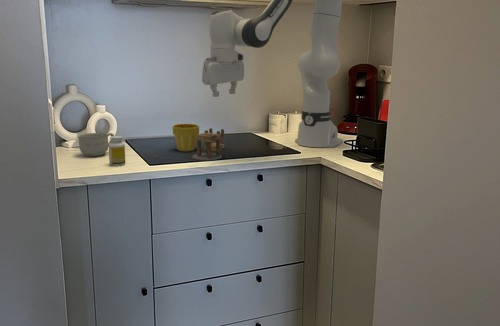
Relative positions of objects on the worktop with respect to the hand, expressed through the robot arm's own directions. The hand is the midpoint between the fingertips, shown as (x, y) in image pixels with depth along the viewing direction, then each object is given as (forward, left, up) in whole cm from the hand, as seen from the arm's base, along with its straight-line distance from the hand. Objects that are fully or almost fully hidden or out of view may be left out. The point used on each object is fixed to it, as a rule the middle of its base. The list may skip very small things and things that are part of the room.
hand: (224, 95), depth 183 cm
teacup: (+26, -40, -23) cm, 53 cm away
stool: (+3, -5, -23) cm, 23 cm away
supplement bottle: (+32, -22, -23) cm, 45 cm away
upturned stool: (-9, -12, -23) cm, 27 cm away
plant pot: (-1, -20, -23) cm, 31 cm away
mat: (+4, -5, -23) cm, 24 cm away
